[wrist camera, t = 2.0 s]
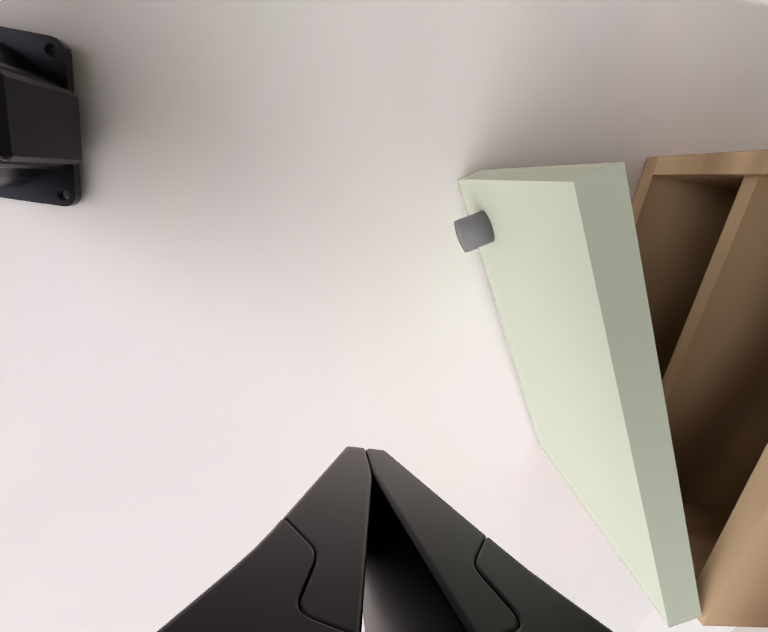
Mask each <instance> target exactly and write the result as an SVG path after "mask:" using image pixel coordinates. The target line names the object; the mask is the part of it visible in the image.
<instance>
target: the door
mask: <svg viewBox="0 0 768 632" xmlns="http://www.w3.org/2000/svg"><path fill="white" fill-rule="evenodd" d="M457 180H458V183H459V187H460V190H461V193H462V196H463V200H464V203H465V206H466V210H467V213H468V216H467V217H464V218H462V219H459V220H457V221H455V222H454V226H455V231H456V234H457V237H458V240H459V242H460V244H461V246H462V248H463V250H464V251H465V252H469V251H471V250H474V249H476V248H478V249H479V252H480V255H481V258H482V262H483V265H484V268H485V272H486V275H487V278H488V281H489V285H490V288H491V291H492V294H493V298H494V301H495V304H496V307H497V311H498V314H499V317H500V321H501V324H502V327H503V330H504V334H505V337H506V340H507V343H508V347H509V350H510V353H511V356H512V360H513V363H514V366H515V369H516V373H517V376H518V379H519V383H520V386H521V389H522V392H523V396H524V399H525V402H526V405H527V409H528V412H529V415H530V418H531V422H532V425H533V428H534V431H535V435H536V438H537V441H538V444H539V446H540V447H541V448H542V450H543V451H544V453H545V454H546V455H547V457H548V458H549V460H550V461H551V462H552V464H553V465H554V467H555V468H556V470H557V471H558V472H559V474H560V475H561V477H562V478H563V479H564V481H565V482H566V484H567V485H568V486H569V488H570V489H571V491H572V492H573V493H574V495H575V496H576V498H577V499H578V500H579V502H580V503H581V505H582V506H583V508H584V509H585V510H586V512H587V513H588V515H589V516H590V517H591V519H592V520H593V522H594V523H595V524H596V526H597V527H598V529H599V530H600V531H601V533H602V534H603V536H604V537H605V538H606V540H607V541H608V543H609V544H610V546H611V547H612V548H613V550H614V551H615V553H616V554H617V555H618V557H619V558H620V560H621V561H622V562H623V564H624V565H625V567H626V568H627V569H628V571H629V572H630V574H631V575H632V576H633V578H634V579H635V581H636V582H637V584H638V585H639V586H640V588H641V589H642V591H643V592H644V593H645V595H646V596H647V598H648V599H649V600H650V602H651V603H652V605H653V606H654V607H655V609H656V610H657V612H658V613H659V614H660V616H661V617H662V619H663V620H664V622H665V623H666V624H667V626H668V627H672V626H675V625H678V624H681V623H684V622H687V621H690V620H693V619H695V618H698V617H701V616H702V615H701V609H700V603H699V597H698V591H697V586H696V580H695V574H694V568H693V562H692V556H691V550H690V544H689V539H688V533H687V527H686V521H685V515H684V509H683V503H682V497H681V492H680V486H679V480H678V474H677V468H676V462H675V456H674V450H673V445H672V439H671V433H670V427H669V421H668V415H667V409H666V403H665V398H664V392H663V386H662V380H661V374H660V368H659V362H658V356H657V351H656V345H655V339H654V333H653V327H652V321H651V315H650V309H649V304H648V298H647V292H646V286H645V280H644V274H643V268H642V262H641V257H640V251H639V245H638V239H637V233H636V227H635V221H634V215H633V210H632V204H631V198H630V192H629V186H628V180H627V174H626V168H625V163H624V162H609V163H591V164H573V165H555V166H537V167H519V168H501V169H483V170H479V171H477V172H474V173H472V174H469V175H467V176H464V177H462V178H459V179H457Z"/></svg>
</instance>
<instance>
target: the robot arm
mask: <svg viewBox="0 0 768 632" xmlns="http://www.w3.org/2000/svg"><path fill="white" fill-rule="evenodd" d="M54 46H56V47H57V48H58V51H59V54H58V56H57V57H56V58H54V57H53V55H52V48H53V47H54ZM81 159H82V153H81V138H80V122H79V106H78V98H77V97H76V96H75V94H74V81H73V65H72V54H71V50H70V49H69V47H68V46H67V45H66V44H65V43H64V42H63V41H61V40H59V39H57V38H54V37H52V36H48V35H43V34H38V33H32V32H27V31H22V30H16V29H11V28H6V27H1V26H0V197H3V198H10V199H17V200H24V201H31V202H38V203H45V204H52V205H59V206H73V205H76V204H78V203H79V201H80V200H81V187H80V172H79V162H80V161H81ZM64 189H66V190H67V191H68V192H69V199H66V198H65V197H64V196H63V190H64ZM362 615H363V617H364V626H365V632H613V631H611V630H610V629H609V628H607V627H606V626H604V625H603V624H602V623H600V622H599V621H597V620H596V619H595V618H593V617H592V616H591V615H589V614H588V613H586V612H585V611H584V610H582V609H581V608H579V607H578V606H577V605H575V604H574V603H573V602H571V601H570V600H568V599H567V598H566V597H564V596H563V595H561V594H560V593H559V592H557V591H556V590H555V589H553V588H552V587H551V586H549V585H548V584H547V583H545V582H544V581H543V580H541V579H540V578H539V577H537V576H536V575H534V574H533V573H532V572H530V571H529V570H528V569H527V568H525V567H524V566H523V565H522V564H520V563H519V562H518V561H517V560H515V559H514V558H513V557H512V556H510V555H509V554H508V553H507V552H505V551H504V550H503V549H502V548H501V547H499V546H498V545H497V544H496V543H495V542H493V541H492V540H491V539H490V538H486V536H485V535H484V534H483V533H482V532H480V531H479V530H478V529H477V528H476V527H475V526H473V525H472V524H471V523H470V522H469V521H467V520H466V519H465V518H464V517H463V516H461V515H460V514H459V513H458V512H457V511H456V510H454V509H453V508H452V507H451V506H450V505H448V504H447V503H446V502H445V501H444V500H442V499H441V498H440V497H439V496H438V495H436V494H435V493H434V492H433V491H432V490H431V489H429V488H428V487H427V486H426V485H425V484H423V483H422V482H421V481H420V480H419V479H417V478H416V477H415V476H414V475H413V474H411V473H410V472H409V471H408V470H407V469H406V468H404V467H403V466H402V465H401V464H400V463H398V462H397V461H396V460H395V459H394V458H392V457H391V456H390V455H389V454H388V453H387V452H385V451H383V450H375V449H367V450H366V451H365V449H364V448H358V447H346V448H345V449H344V451H343V452H342V453H341V454H340V455H339V456H338V457H337V458H336V460H335V461H334V462H333V463H332V464H331V465H330V466H329V467H328V469H327V470H326V471H325V472H324V473H323V474H322V475H321V476H320V478H319V479H318V480H317V481H316V482H315V483H314V484H313V485H312V487H311V488H310V489H309V490H308V491H307V492H306V493H305V495H304V496H303V497H302V498H301V499H300V500H299V501H298V502H297V504H296V505H295V506H294V507H293V508H292V509H291V510H290V511H289V513H288V514H287V515H286V516H285V517H284V518H283V519H282V520H281V521H280V522H279V523H278V524H277V525H276V526H275V527H274V529H273V530H272V531H271V532H270V533H269V534H268V535H267V536H266V537H265V538H264V539H263V540H262V541H261V542H260V543H259V544H258V545H257V546H256V547H255V548H254V549H253V550H252V551H251V552H250V553H249V554H248V555H247V556H246V557H244V558H243V559H242V560H241V561H240V562H239V563H238V564H237V565H235V566H234V567H233V568H232V569H231V570H230V571H229V572H227V573H226V574H225V575H224V576H223V577H221V578H220V579H219V580H218V581H217V582H216V583H214V584H213V585H212V586H211V587H210V588H208V589H207V590H206V591H205V592H204V593H202V594H201V595H200V596H199V597H198V598H196V599H195V600H194V601H193V602H192V603H191V604H189V605H188V606H187V607H186V608H185V609H183V610H182V611H181V612H180V613H179V614H177V615H176V616H175V617H174V618H173V619H171V620H170V621H169V622H168V623H167V624H166V625H164V626H163V627H162V628H161V629H160V630H158V631H157V632H361V629H362Z"/></svg>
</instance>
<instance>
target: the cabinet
mask: <svg viewBox="0 0 768 632" xmlns="http://www.w3.org/2000/svg"><path fill="white" fill-rule="evenodd" d="M632 210H633V215H634V221H635V227H636V233H637V239H638V245H639V251H640V257H641V262H642V268H643V274H644V280H645V286H646V292H647V298H648V304H649V309H650V315H651V321H652V327H653V333H654V339H655V345H656V351H657V356H658V362H659V368H660V374H661V380H662V386H663V392H664V398H665V403H666V409H667V415H668V421H669V427H670V433H671V439H672V445H673V450H674V456H675V462H676V468H677V474H678V480H679V486H680V492H681V497H682V503H683V509H684V515H685V521H686V527H687V533H688V539H689V544H690V550H691V556H692V562H693V568H694V574H695V580H696V586H697V591H698V597H699V603H700V609H701V615H702V616H701V617H698V618H697V619H698V620H699V621H700V623H701V624H702V625H706V626H738V627H768V150H754V151H738V152H723V153H708V154H692V155H677V156H662V157H647V160H646V163H645V166H644V169H643V172H642V175H641V178H640V181H639V184H638V187H637V190H636V193H635V196H634V199H633V202H632Z"/></svg>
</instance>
